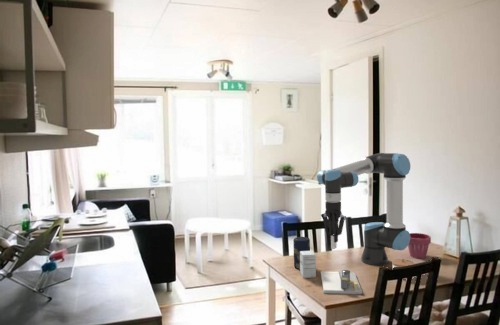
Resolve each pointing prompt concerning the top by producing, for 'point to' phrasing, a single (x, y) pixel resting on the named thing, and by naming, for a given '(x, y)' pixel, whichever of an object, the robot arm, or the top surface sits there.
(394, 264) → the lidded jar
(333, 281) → the door board
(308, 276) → the supplement box
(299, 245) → the canister
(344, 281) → the arm
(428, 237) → the plant pot
